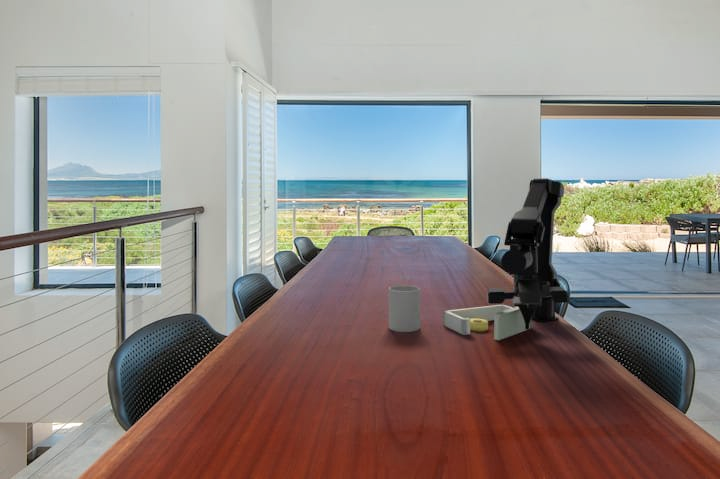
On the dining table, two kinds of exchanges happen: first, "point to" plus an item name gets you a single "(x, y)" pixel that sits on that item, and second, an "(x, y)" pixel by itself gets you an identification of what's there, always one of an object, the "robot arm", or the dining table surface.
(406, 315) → the mug
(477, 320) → the cord coil
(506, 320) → the cover
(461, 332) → the white open pen
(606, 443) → the dining table surface
